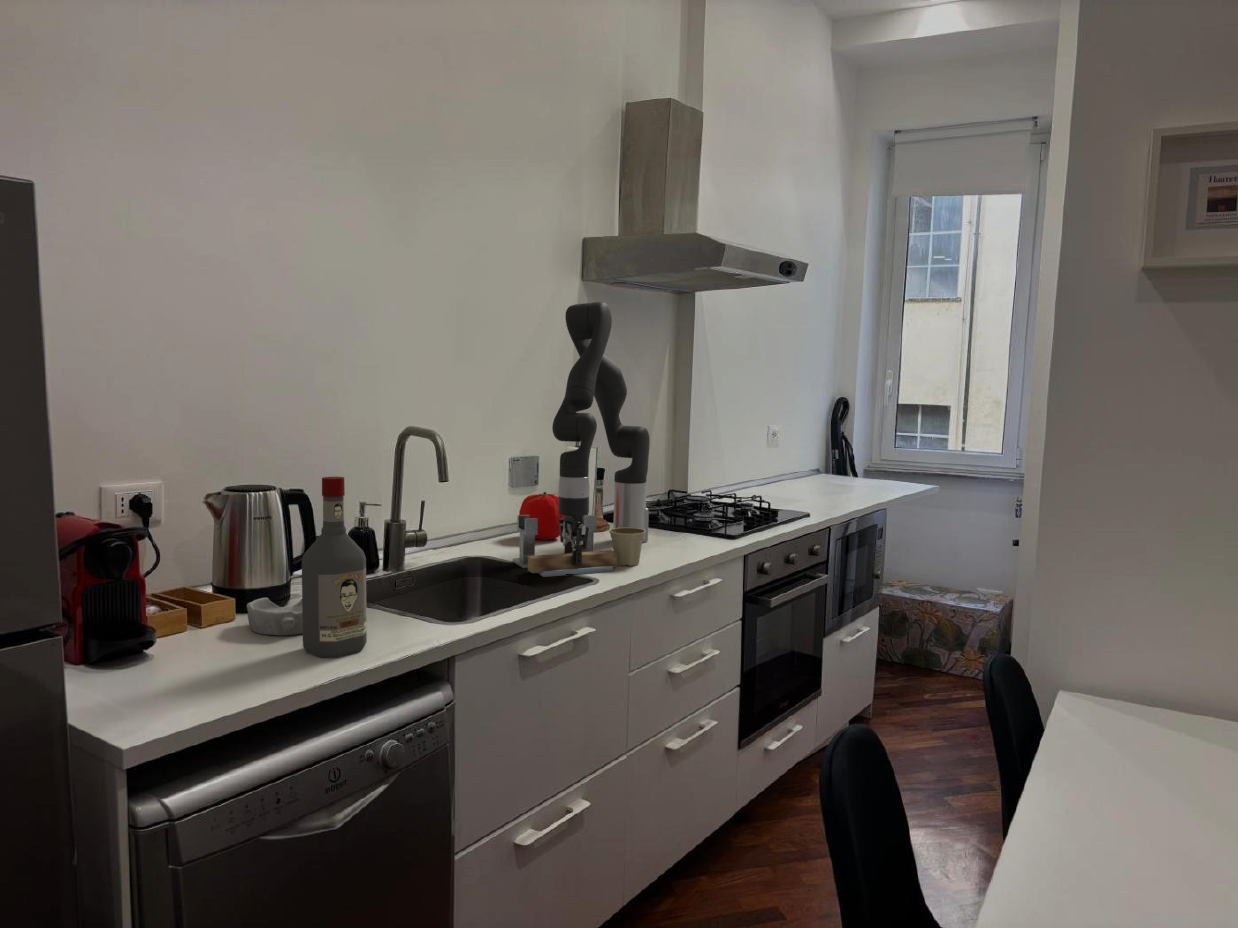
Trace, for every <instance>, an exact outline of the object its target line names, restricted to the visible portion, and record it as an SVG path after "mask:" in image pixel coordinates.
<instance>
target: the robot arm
mask: <svg viewBox="0 0 1238 928" xmlns="http://www.w3.org/2000/svg"><path fill="white" fill-rule="evenodd" d="M564 317H565V326H566V328H567V331H568V334H569V337H570V338H571V341H572V344H573V346H574V348H575V349H576V351H577V354H578V356H579V358H578V359H577V361H576V362H575V363H574V365H573V366H572V368H571V369H570V371H569V373H568V377H567V381H566V387H565V393H564V398H563V400H562V402H561V404H560V407H559V408H558V411H557V413H556V414H555V416H554V419H553V421H552V425H551V426H552V427H551V429H552V434H553V437H554V438H555V439H556V440H557V441H559V442H573V443H574V442H575V443H580V445H579V447H578V448H577V449H574V450H569V451H568V450H567V451H564V452H562V453H560V456H559V478H558V479H559V480H558V487H557V489H558V492H557V493H558V496H557V497H558V513H559V514H561V515H564V518H562V519H559V529H560V536H559V538H560V543H562V546H563V547H564V548H563V549H564V550H563V553H572V565H573V566H581V565H582V551H583V549H586V547H587V539H588V531H589V528H588V526H584V523H583V516H584V515H587V514H588V515H589V512H590V480H589V469H590V467H589V463H590V455H591V450H592V446H593V442H594V440H595V436H596V433H597V427H598V423H597V420H596V417H595V416H594V415H593V414H591V412H582V411H585V410H588V409H590V408H591V407H592V405H593V403H594V399H595V401H596V402H595V403H596V404H597V407H598V409H599V413H600V416H601V418H602V422H603V427H604V431H605V434H606V438H607V439H606V440H607V443H608V447H609V449H610V452H611V453H612V455H614V457H616V458H624V459H631V462H630V465H629V466H627V467H626V468H623V469H620V470H617V471H615V472H614V479H613V481H614V484H613V485H614V487H613V488H614V489H613V528H639V529H644V530H645V531H646V532H645V533H644V538H643V540H642V543H644V542H648V541H649V511H650V510H649V508H648V507H647V477H648V471H649V457H650V455H649V454H650V445H651V444H650V440H651V439H650V433H649V431H648V429H647V428H646V427H644V426H637V425H624V424H622V421H621V419H620V414H621V411H622V408H623V406H624V404H625V401H626V398H627V395H628V389H627V385H626V382H625V377H624V375H623V372H622V370H621V369H620V367H619V366H618V364H616V363H615V362H614V361H613V360H612V359H611V358H610V357H609V356H607V355H606V354H605V351H606V348H607V344H608V342H609V339H610V338H609V337H610V335H611V330H612V325H613V324H612V323H613V319H612V313H611V309H610V307H609V305H608V304H607V303H606V302H603V301H595V302H594V301H593V302H592V301H591V302H586V303H576V304H572V305H569V306H568V307H567V309H566V311H565V316H564Z"/></svg>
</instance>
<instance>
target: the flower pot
mask: <svg viewBox="0 0 1238 928" xmlns="http://www.w3.org/2000/svg"><path fill="white" fill-rule="evenodd" d="M645 532H646V531H645V530H644V529H639V528H614V527H613V528H611V529H609V530H608V533H609V534H610V535H609V536H610V538H611V541H612V542H611V543H612V549H613V550H612V551H614V552H616V553H617V566H622V567H625V566H629V567H634V566H637V565H640V559H641V552H642V547H643V542H642V540H643V538H644V533H645Z"/></svg>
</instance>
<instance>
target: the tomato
mask: <svg viewBox="0 0 1238 928" xmlns="http://www.w3.org/2000/svg"><path fill="white" fill-rule="evenodd" d="M556 494H558V492H556ZM556 494H555V493H553V494H552V493H547V492H546V491H543V492H542V493H537V494H530V495H528V496H526V497H525V498H523V500H522V503H521V506H520V508H519V513H518V515H530V518H537V519H538V528H537V531H538V535H535V540H540V541H541V540H543V541H545V540H555V539H558V538H560V529H559V519H562V518H564V515H561V514H559V513H558V496H557V495H556Z"/></svg>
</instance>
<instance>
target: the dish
mask: <svg viewBox="0 0 1238 928" xmlns="http://www.w3.org/2000/svg"><path fill="white" fill-rule="evenodd" d="M246 610H247V619H248V625H249V627H250V629H251V631H253V632H255V633H258V634H261V635H271V636H296V635H297V636H298V635H301V634H302V635H303V613H302V598H301V599H300V600H299V601H298V602H297V603H296V604H294V605H291V606H286V607H283V606H280V605H277V604H276V603H274V602H273V601H271V600H270V599H269V598H268V597H261V598H257V599H253V601H250V602H248V603H247V604H246Z"/></svg>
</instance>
